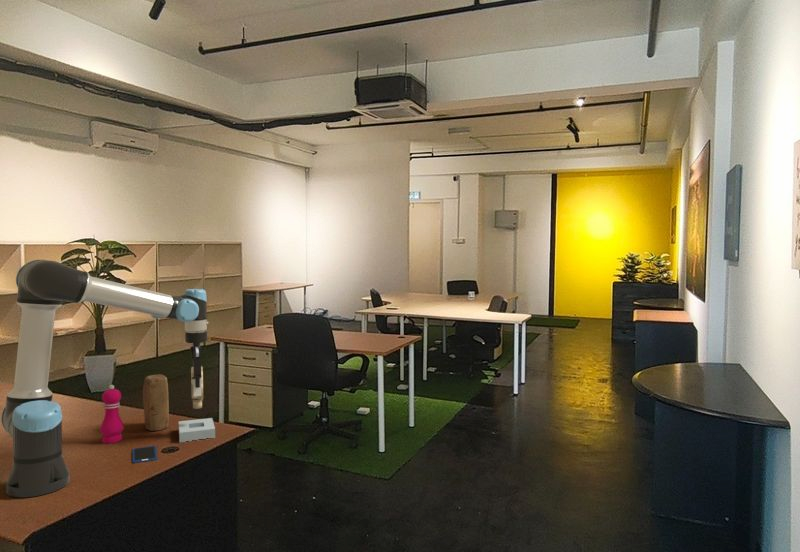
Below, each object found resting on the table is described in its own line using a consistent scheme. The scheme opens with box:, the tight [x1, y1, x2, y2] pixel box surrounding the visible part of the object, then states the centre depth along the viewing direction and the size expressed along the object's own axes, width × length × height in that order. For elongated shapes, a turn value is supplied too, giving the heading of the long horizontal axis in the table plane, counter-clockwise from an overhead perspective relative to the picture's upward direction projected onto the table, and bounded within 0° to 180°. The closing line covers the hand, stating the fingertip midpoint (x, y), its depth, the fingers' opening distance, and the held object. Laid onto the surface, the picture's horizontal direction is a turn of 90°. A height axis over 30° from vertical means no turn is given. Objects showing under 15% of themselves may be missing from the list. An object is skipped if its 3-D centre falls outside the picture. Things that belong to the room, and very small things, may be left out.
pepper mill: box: [100, 384, 124, 444], centre depth 195 cm, size 7×7×20 cm
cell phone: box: [131, 445, 158, 464], centre depth 183 cm, size 7×14×1 cm, turn 26°
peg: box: [190, 365, 204, 410], centre depth 203 cm, size 4×4×15 cm
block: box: [142, 373, 170, 432], centre depth 210 cm, size 11×8×20 cm
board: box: [178, 417, 216, 443], centre depth 203 cm, size 12×14×4 cm
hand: (197, 394), depth 203 cm, fingers closed on peg, 4 cm apart
